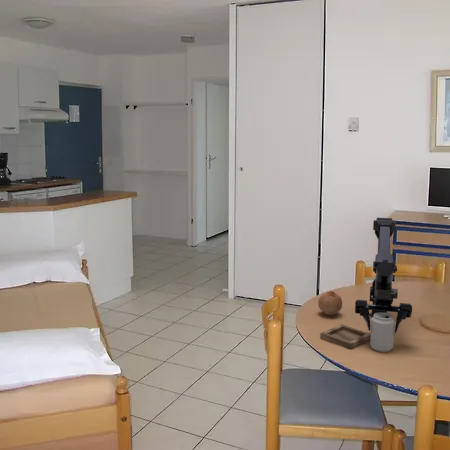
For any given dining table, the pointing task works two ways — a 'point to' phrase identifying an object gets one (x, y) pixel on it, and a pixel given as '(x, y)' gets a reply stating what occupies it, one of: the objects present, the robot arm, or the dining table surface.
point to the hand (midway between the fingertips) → (382, 331)
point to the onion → (330, 303)
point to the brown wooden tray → (345, 336)
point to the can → (382, 332)
